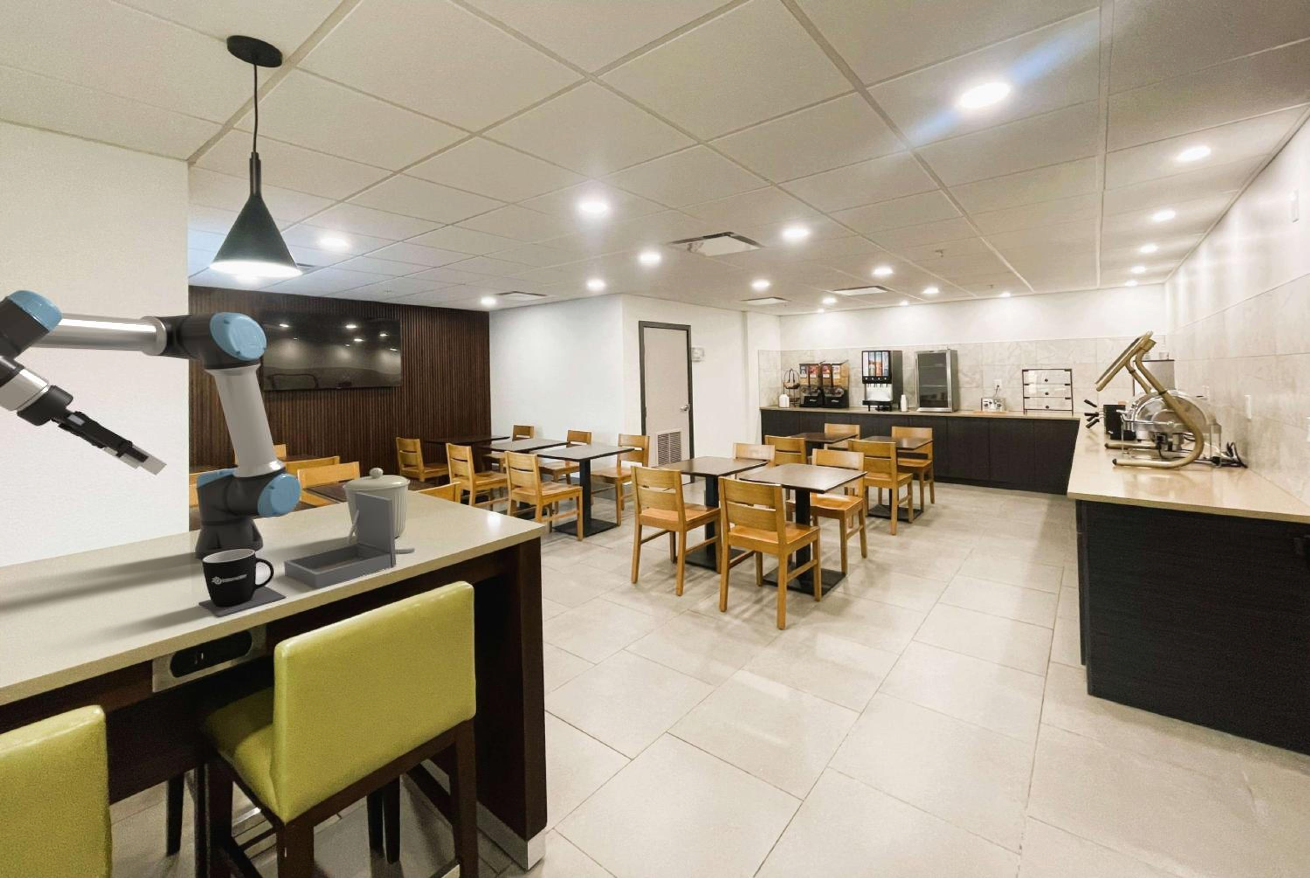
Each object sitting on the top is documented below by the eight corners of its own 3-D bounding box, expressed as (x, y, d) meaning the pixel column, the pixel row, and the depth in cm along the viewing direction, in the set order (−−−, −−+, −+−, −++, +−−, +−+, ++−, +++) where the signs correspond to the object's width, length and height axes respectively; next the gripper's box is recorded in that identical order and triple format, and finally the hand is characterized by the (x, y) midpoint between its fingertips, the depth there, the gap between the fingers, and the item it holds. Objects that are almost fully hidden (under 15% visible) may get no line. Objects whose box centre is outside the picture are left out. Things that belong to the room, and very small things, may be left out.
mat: (198, 604, 119) (198, 602, 119) (263, 586, 129) (263, 585, 129) (219, 617, 112) (219, 615, 112) (286, 598, 122) (285, 596, 122)
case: (285, 575, 137) (279, 505, 135) (362, 554, 152) (358, 492, 150) (316, 589, 127) (310, 514, 125) (396, 566, 142) (392, 499, 140)
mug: (203, 613, 114) (198, 565, 112) (210, 599, 121) (205, 553, 120) (274, 600, 120) (270, 554, 119) (277, 587, 127) (273, 544, 126)
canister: (361, 530, 177) (356, 464, 174) (420, 527, 179) (417, 462, 176) (335, 547, 159) (329, 474, 157) (401, 544, 161) (397, 472, 159)
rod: (366, 557, 151) (366, 552, 151) (367, 555, 152) (367, 551, 152) (414, 553, 154) (413, 549, 154) (414, 552, 155) (414, 548, 155)
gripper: (2, 411, 107) (118, 475, 122) (26, 416, 93) (154, 488, 107) (38, 382, 111) (147, 448, 125) (66, 383, 97) (185, 456, 111)
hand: (150, 466), depth 116 cm, fingers open, 13 cm apart
